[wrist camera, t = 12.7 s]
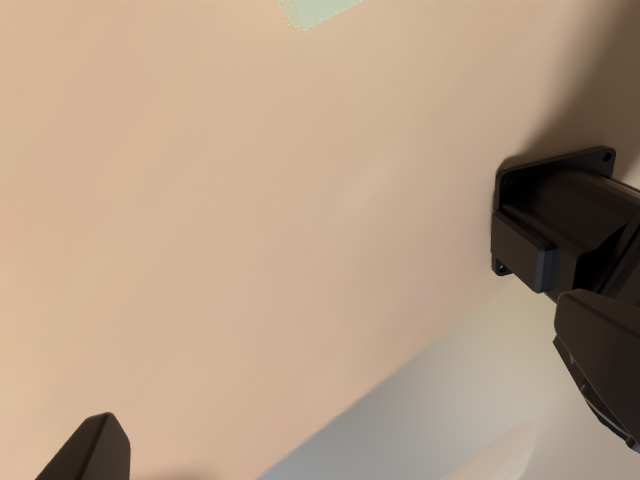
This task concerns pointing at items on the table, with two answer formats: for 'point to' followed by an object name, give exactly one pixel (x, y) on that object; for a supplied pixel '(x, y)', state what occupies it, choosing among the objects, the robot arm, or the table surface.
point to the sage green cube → (311, 11)
